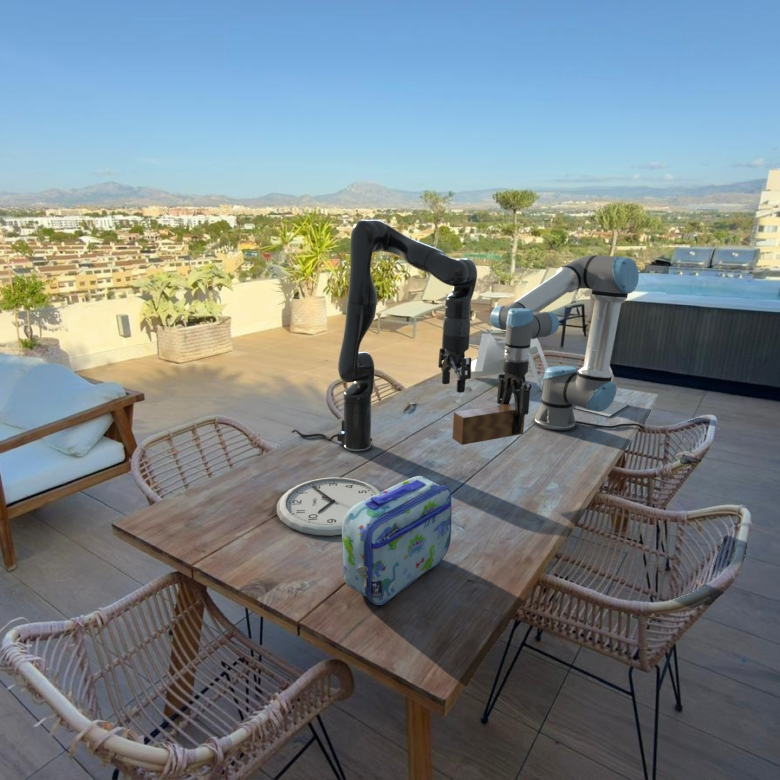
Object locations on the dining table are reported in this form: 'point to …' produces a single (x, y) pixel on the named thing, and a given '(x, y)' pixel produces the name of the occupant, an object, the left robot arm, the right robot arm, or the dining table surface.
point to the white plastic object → (501, 358)
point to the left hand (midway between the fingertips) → (452, 387)
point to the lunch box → (395, 537)
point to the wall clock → (322, 504)
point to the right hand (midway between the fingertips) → (510, 430)
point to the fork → (411, 403)
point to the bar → (484, 423)
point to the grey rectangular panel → (609, 411)
